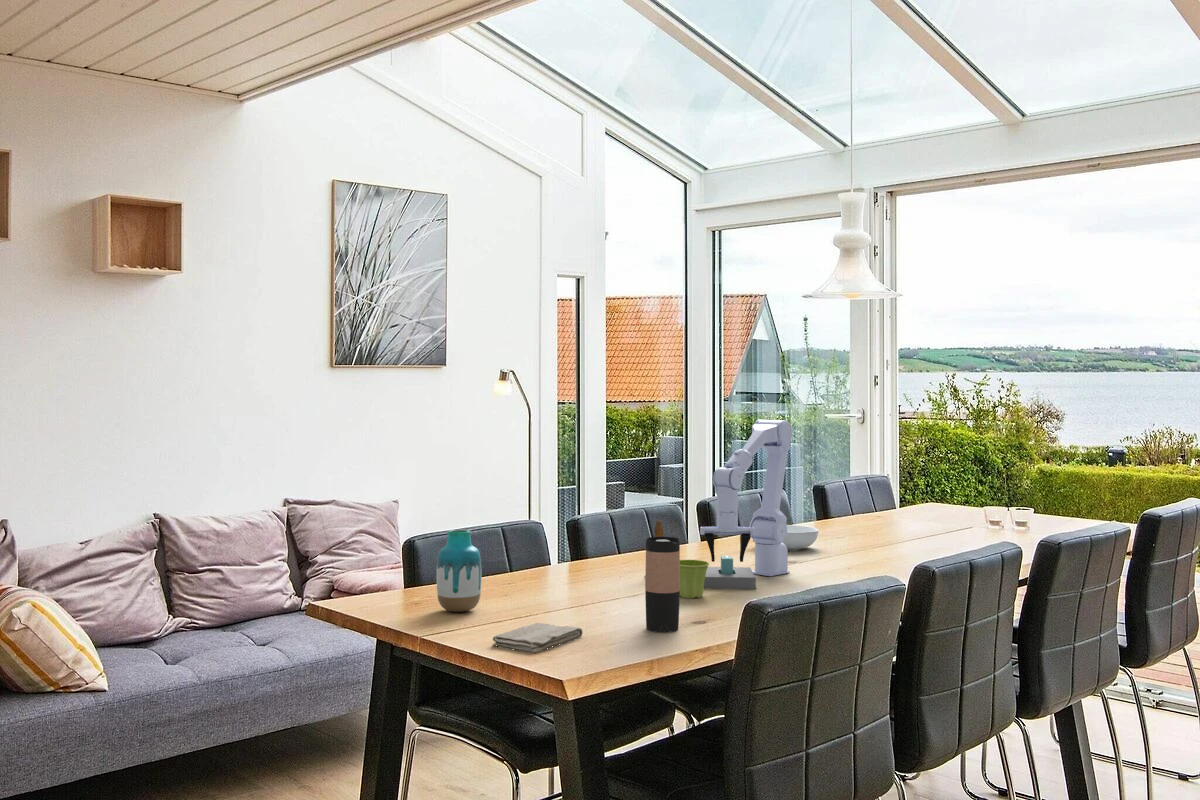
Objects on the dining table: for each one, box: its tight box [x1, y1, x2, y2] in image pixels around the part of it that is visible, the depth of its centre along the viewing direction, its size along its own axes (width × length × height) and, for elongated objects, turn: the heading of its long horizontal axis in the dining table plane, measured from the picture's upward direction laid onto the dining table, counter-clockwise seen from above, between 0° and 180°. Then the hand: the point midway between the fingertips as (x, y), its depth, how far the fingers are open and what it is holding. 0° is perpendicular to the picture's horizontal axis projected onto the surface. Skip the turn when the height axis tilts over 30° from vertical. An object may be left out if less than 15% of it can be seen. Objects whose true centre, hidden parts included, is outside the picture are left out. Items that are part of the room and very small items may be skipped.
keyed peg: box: [720, 555, 734, 574], centre depth 298 cm, size 5×3×7 cm, turn 178°
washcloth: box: [492, 622, 584, 654], centre depth 230 cm, size 12×18×3 cm, turn 149°
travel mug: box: [644, 536, 681, 633], centre depth 242 cm, size 8×8×20 cm
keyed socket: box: [703, 566, 757, 590], centre depth 298 cm, size 16×14×3 cm
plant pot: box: [680, 559, 710, 599], centre depth 279 cm, size 9×9×9 cm
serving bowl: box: [783, 524, 819, 551], centre depth 360 cm, size 21×21×7 cm
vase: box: [436, 529, 482, 613], centre depth 259 cm, size 11×11×19 cm
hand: (727, 561), depth 298 cm, fingers open, 7 cm apart
